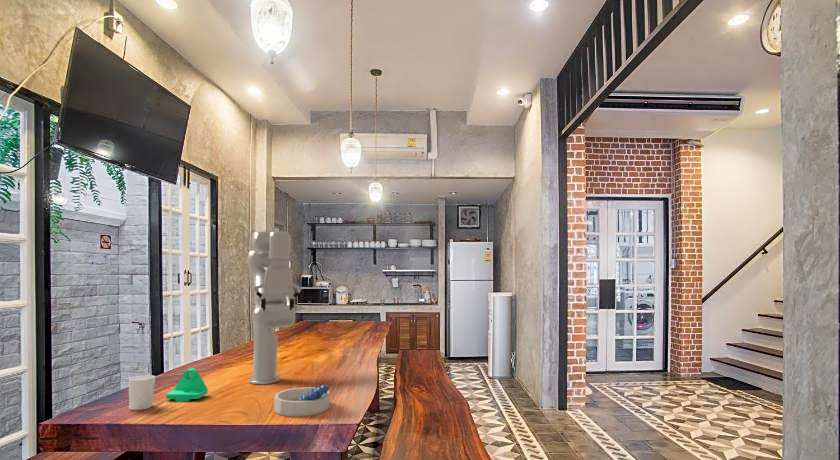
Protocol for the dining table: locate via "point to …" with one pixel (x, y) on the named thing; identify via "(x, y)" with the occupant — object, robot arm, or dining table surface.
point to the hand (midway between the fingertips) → (277, 309)
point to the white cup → (141, 392)
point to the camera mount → (188, 387)
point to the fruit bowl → (299, 403)
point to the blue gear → (314, 393)
